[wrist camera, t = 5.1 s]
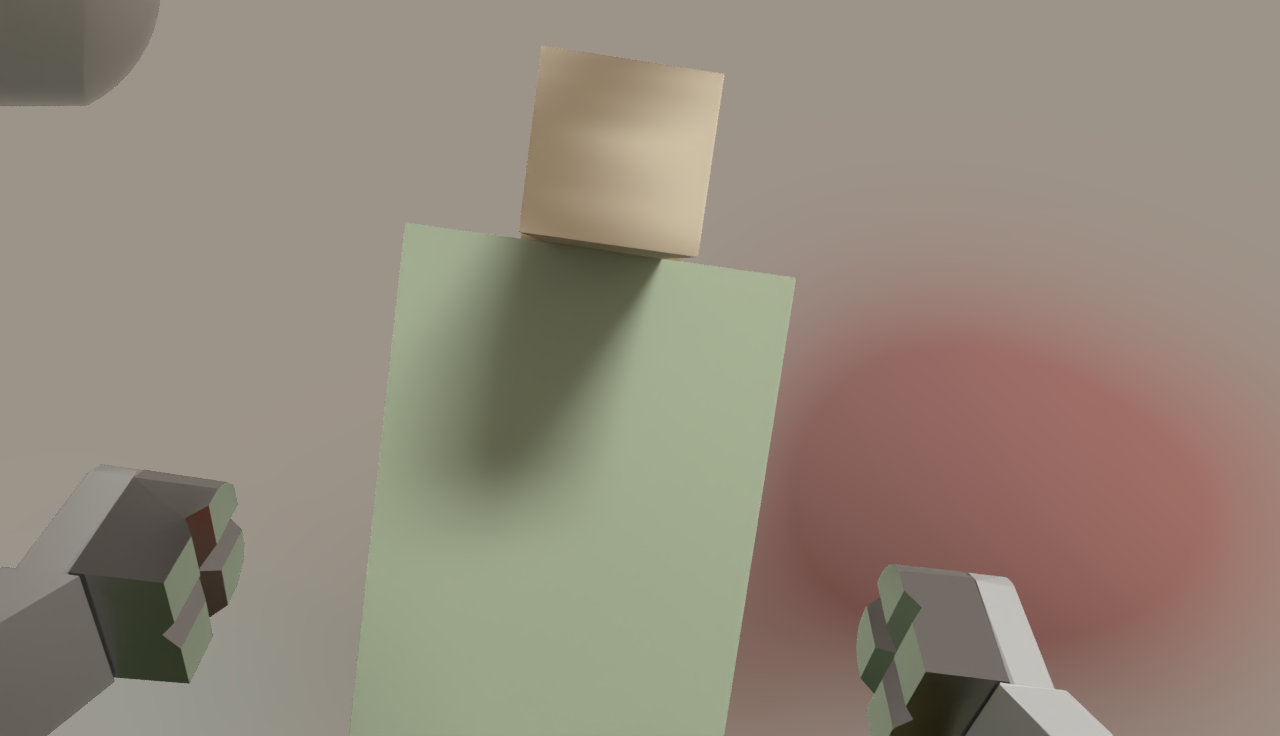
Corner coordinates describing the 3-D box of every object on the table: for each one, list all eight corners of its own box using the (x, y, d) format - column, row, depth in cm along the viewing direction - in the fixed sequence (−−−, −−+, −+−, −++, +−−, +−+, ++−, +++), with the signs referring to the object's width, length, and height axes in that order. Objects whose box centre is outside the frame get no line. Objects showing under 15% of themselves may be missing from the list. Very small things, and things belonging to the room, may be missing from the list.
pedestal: (303, 1149, 25) (405, 222, 23) (385, 899, 35) (462, 234, 33) (654, 1174, 26) (795, 277, 23) (637, 923, 36) (735, 273, 33)
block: (457, 223, 15) (495, -94, 14) (531, 244, 33) (549, 104, 32) (756, 265, 15) (803, -43, 15) (668, 263, 33) (687, 124, 32)
